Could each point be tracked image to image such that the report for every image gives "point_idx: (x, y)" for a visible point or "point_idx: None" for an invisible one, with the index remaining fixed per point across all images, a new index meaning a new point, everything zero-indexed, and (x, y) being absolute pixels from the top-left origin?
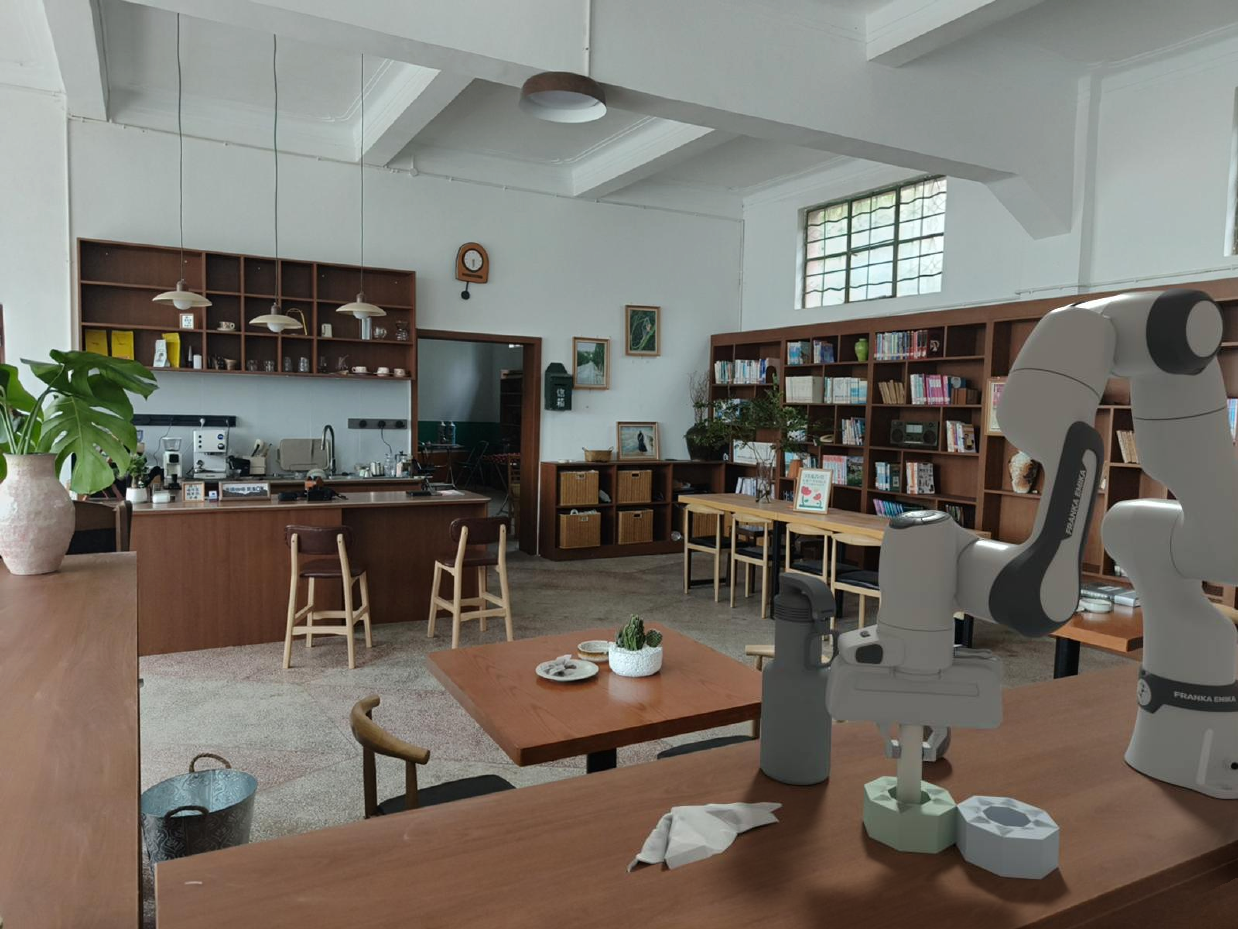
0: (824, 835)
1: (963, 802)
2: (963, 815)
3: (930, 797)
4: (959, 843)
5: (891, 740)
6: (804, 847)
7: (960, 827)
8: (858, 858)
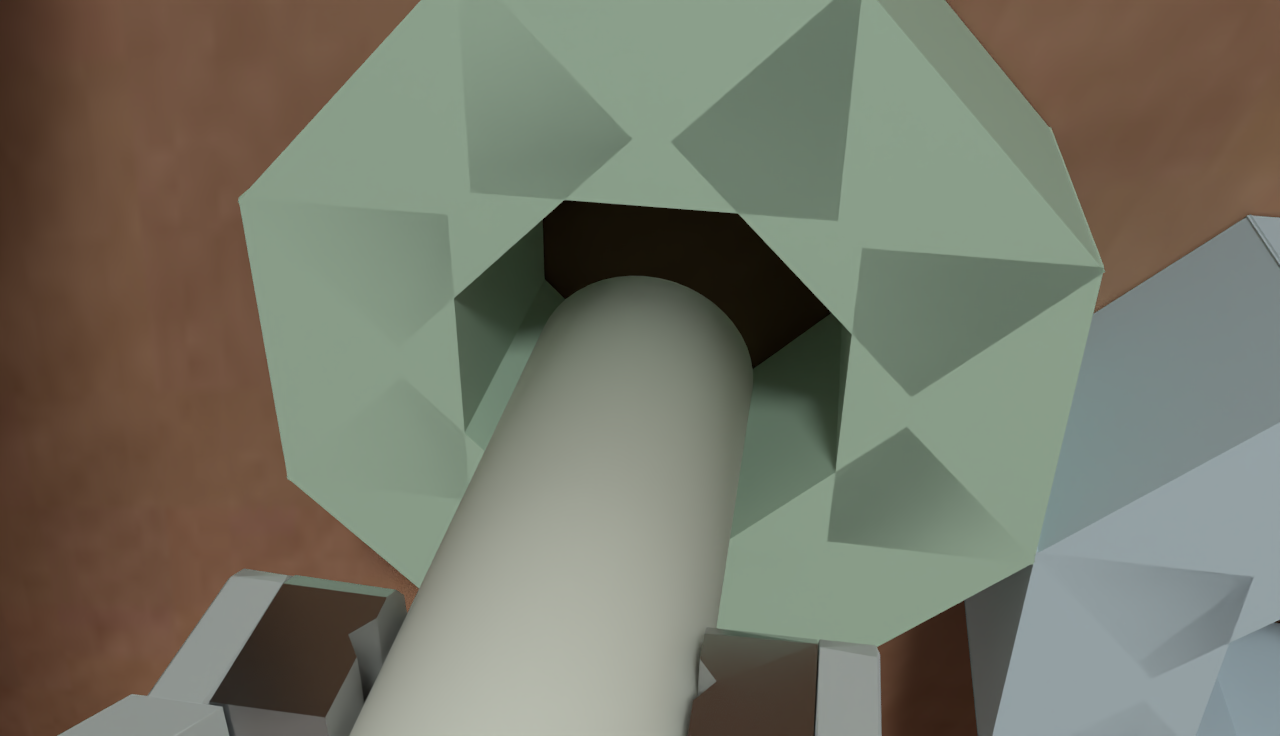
0: (115, 312)
1: (1138, 508)
2: (1005, 699)
3: (841, 431)
4: None
5: (239, 725)
6: (22, 443)
7: None
8: (319, 542)
